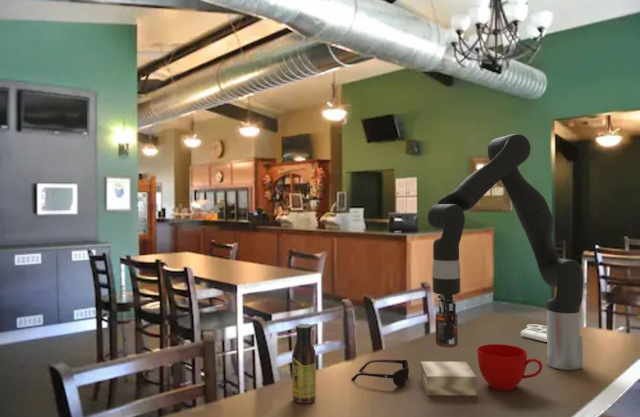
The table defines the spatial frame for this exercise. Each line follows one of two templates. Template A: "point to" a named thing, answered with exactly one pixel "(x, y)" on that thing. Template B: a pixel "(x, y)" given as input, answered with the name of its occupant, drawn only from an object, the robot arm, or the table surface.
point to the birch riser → (448, 378)
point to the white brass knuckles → (535, 332)
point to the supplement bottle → (441, 331)
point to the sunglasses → (397, 377)
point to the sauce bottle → (303, 366)
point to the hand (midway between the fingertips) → (446, 335)
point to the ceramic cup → (504, 365)
